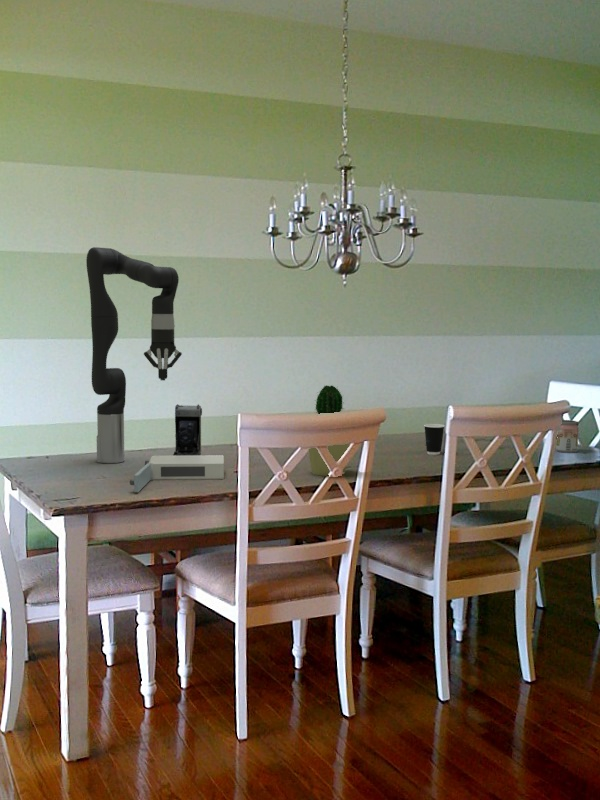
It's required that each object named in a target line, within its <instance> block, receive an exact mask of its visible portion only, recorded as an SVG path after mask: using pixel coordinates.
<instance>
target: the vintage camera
mask: <svg viewBox="0 0 600 800" xmlns="http://www.w3.org/2000/svg"><path fill="white" fill-rule="evenodd" d="M202 415H203V408H202V406H201V405H200V404H196V405H182V404H181V405H180V404H176V405H175V407H174V422H175V423H174V424H175V425H174V426H175V431H174V432H175V435H174V438H175V447H174V448H175V451H173V454H172V456H185V455H202Z"/></svg>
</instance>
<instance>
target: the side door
mask: <svg viewBox="0 0 600 800" xmlns="http://www.w3.org/2000/svg"><path fill="white" fill-rule="evenodd" d="M151 479H153V463H149V464H146V465H145V464H144V466H142V468H140V470H138V471H137V472H136V473H135V474H134V475H133V479H129V485H130V486H133V492H134V493H139V492H140V491H141V490H142V489H143V488H144V487H145V486H146V485H147V484H148V483H149V482H150V481H151ZM153 480H154V479H153Z"/></svg>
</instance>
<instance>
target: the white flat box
mask: <svg viewBox="0 0 600 800" xmlns="http://www.w3.org/2000/svg"><path fill="white" fill-rule="evenodd" d="M224 460H225V456H224V455H223V454H221V455H220V454H218V455H217V454H215V455H214V454H213V455H212V454H211V455H209V454H207V455H206V454H205V455H203V454H201V455H185V456H176V455H152V456H151V458H150V460H145V461H144V466H145V465H146V464H149V463H153V479H151V480H224V479H225V477H224V476H225V475H224V473H225V467H224V466H225V465H224ZM151 480H150V481H151Z"/></svg>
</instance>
